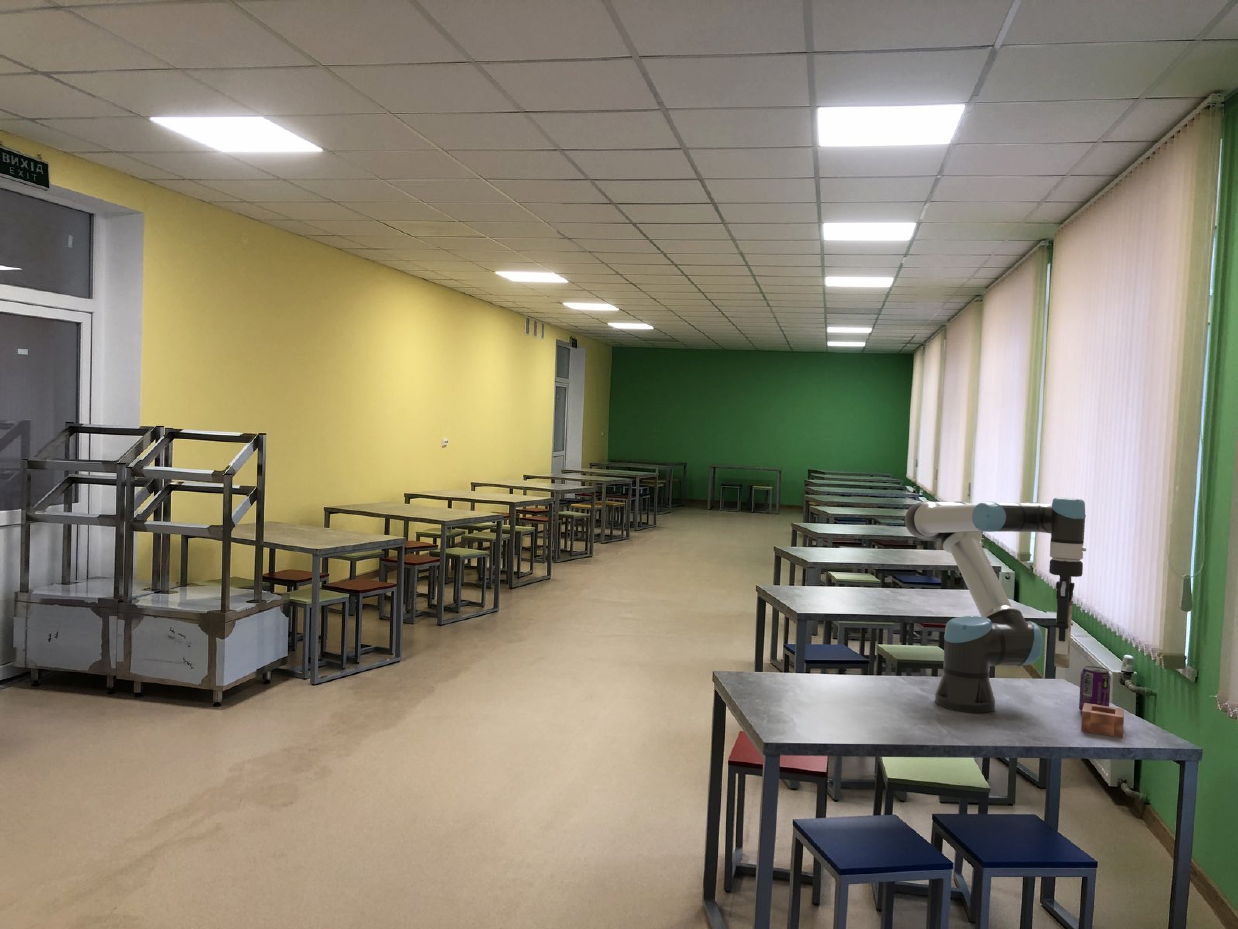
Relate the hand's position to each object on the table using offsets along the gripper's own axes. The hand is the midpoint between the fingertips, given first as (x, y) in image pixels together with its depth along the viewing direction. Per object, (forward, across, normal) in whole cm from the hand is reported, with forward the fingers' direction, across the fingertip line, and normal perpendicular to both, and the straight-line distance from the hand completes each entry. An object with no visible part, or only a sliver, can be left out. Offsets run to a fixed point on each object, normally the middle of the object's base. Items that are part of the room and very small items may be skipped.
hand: (1062, 652), depth 232 cm
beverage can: (+19, +18, -7) cm, 27 cm away
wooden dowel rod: (+4, 0, 0) cm, 4 cm away
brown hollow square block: (+19, +3, -10) cm, 21 cm away
